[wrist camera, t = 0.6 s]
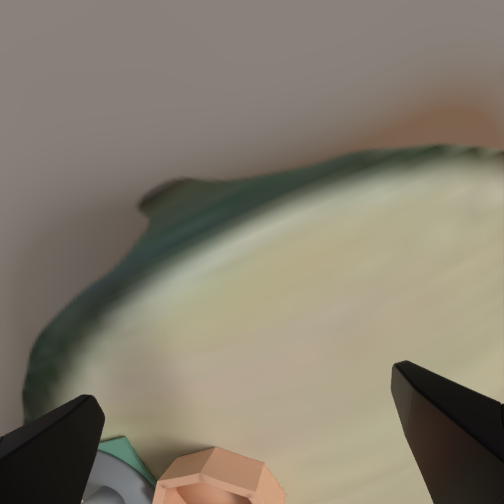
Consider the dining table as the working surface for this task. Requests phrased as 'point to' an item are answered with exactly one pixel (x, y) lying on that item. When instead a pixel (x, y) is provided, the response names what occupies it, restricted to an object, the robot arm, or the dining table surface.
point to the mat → (126, 455)
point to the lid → (116, 483)
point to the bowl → (217, 480)
